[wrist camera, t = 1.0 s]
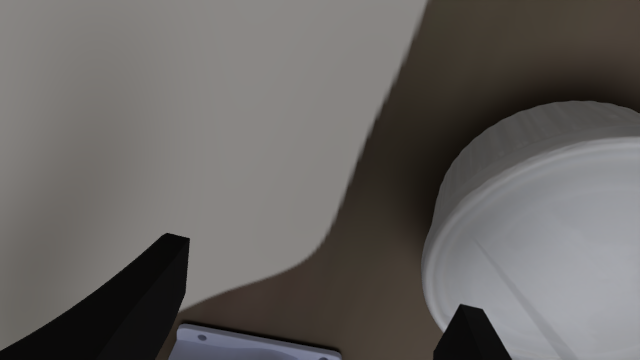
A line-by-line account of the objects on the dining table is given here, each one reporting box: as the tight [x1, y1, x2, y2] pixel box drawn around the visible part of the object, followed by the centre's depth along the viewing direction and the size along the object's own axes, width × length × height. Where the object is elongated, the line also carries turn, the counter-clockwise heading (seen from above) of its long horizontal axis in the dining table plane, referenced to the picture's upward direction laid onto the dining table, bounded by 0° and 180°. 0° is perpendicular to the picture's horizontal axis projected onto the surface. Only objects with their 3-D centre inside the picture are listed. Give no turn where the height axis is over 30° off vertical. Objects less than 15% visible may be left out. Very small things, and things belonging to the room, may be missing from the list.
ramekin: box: [421, 101, 640, 360], centre depth 19 cm, size 11×11×5 cm
